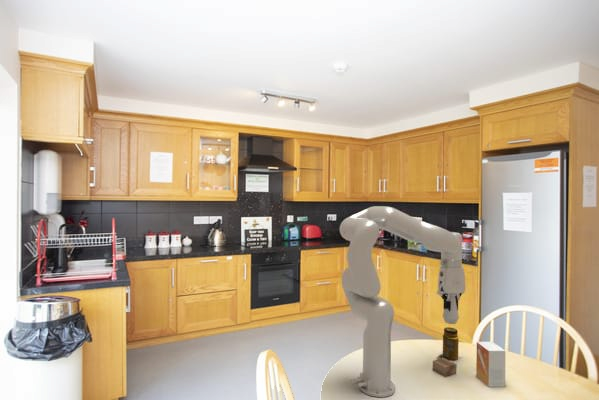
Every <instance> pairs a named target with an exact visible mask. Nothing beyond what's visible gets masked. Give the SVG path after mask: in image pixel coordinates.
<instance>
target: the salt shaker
mask: <svg viewBox="0 0 599 400" xmlns="http://www.w3.org/2000/svg"><path fill="white" fill-rule="evenodd" d="M456 295H457V293H455V294H450V300H449V301H451V310H450V311H449V310H448V309H444V308H443V312H442V318H443V320H444V323H446V324H449V325H456V324H457V323H458V320H459V319H460V318H459V317H460V316H459V309H458V310H457V304H456V299H455V296H456ZM446 296H447V294H446Z"/></svg>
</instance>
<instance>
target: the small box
mask: <svg viewBox="0 0 599 400" xmlns="http://www.w3.org/2000/svg"><path fill="white" fill-rule="evenodd" d="M475 369H476V370H475V371H476V372H475V373H476V374H475V375H476V377H477V378H479V379H480V381H481V382H482V383H484V384H485V385H486V386H487V387H488V388H505V387H506V350H505V349H503V348H502V347H501V346H499V345H498V344H496V343H495V342H494V341H476V368H475Z"/></svg>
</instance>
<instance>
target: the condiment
mask: <svg viewBox="0 0 599 400" xmlns="http://www.w3.org/2000/svg"><path fill="white" fill-rule="evenodd" d="M458 335H459V334H458V329H457V328H454V327H450V326H449V327H444V328H443V334H442V354H440V355H438V356H437V357H436V358H437V359H440V358H445V359H447V360H449V361H451V362H453V363H455V364H457V362H460V360H461V359H462V358H463V357H461V356H460V355H459V336H458Z"/></svg>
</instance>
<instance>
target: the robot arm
mask: <svg viewBox="0 0 599 400" xmlns="http://www.w3.org/2000/svg"><path fill="white" fill-rule="evenodd" d="M380 230H383V231H386V232H388V233H390V234H393V235H395V236H398V237H400V238H402V239H404V240H406V241H408V242H412V243H416V244H417V243H418V244H421V245H422V247H423V248H424V249H425V250H428V251H430V252H431V251H432V252H435V253H436V252H437V253H440V257H441V258H440V261H439V264H440V266H439V270H438V276H437V277H438V279H437V291H436V294H437V295H438V296H440V297H441V299H442V300H443V310H444V309H448V310H449V311H450V310H451V301H449V300H450V294H455V293H457V295H456V296H455V299H456V304H457V310H458V311H459V301H460V300H461V297H462V295H463V294H465V292H466V275H465V269H464V267H463V263H462V262H463V260H462V259H463V236H462V234H461V233H460V232H455V231H449V230H448V229H445V228H443V227H440V226H438V225H434V224H432V223H428V222H426V221H423V220H419V219H417V218H415V217H413V216H411V215H409V214H407V213H405V212H403V211H400V209H399V210H398V209H397V208H395V207H393V206H392V207H391V206H384V205H383V206H382V205H380V206H379V205H378V206H377V205H376V206H375V205H374V206H370V207H368V208H366V209H363V210H361V211H359V212H357V213H354V214H352V215H350V216H348V217H346V218H344V219H343V220H342V222H341V223H340V225H339V233H340V235H341V237H342V238H343V239H345V241H348V242H350V243H349V246H348V248H347V252H346V262H347V265H348V267H346V268H345V269H344V270H343V272H342V275H341V279H340V280H341V287H342V289H343V292H344V294H345V298H346V300H347V303H348V306H349V308H350V310H351V312H352V313H353V314H354V316H355V315H356V316H357V317H359V318H360V319H362V320H364V321H365V322H366V326H365V329H364V330H363V331H364V332H363V335H362V372H360V373H359V376H358V377H355V378H354V377H353V378H350V380H349V381H350V385H351V386H355V385H357V388H358V389H359V390H360V391H361V392H362V393H364V394H366V395H369V396H371V397H375V398H386V397H390V396H391V395H393V394H394V393H395V391H396V386H395V383H394V382H393V381H392V380H391V379H392V378H391V377H392V376H391V375H392V374H391V369H392V368H391V367H392V366H391V362H392V361H391V360H392V359H391V357H392V354H391V353H392V348H391V347H392V343H391V342H392V329H393V322H394V318H395V310H394V307H393V306H392V305H393V304H391V303H390V302H389V301H388V300H387V299H385V298H383V297H380V296H379V294H380V292H381V288H382V287H381V281H380V278H379V275H378V271H377V268H376V267H375V264H374V263H375V262H374V260H373V256H372V251H373V247H374V245H375V244H376V242H377V240H378V238H379V235H380ZM446 294H447V295H446Z"/></svg>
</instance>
